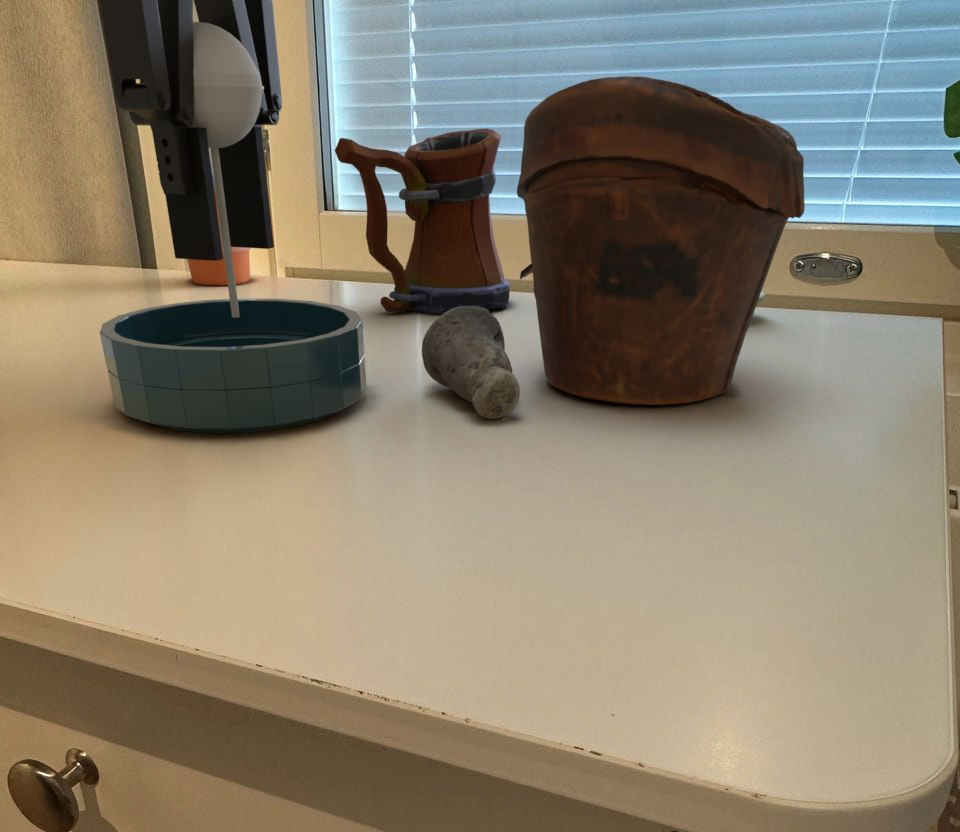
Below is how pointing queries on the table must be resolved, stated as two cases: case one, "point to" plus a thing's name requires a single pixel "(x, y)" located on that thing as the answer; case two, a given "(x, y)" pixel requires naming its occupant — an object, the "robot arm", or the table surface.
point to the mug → (437, 221)
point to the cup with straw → (220, 263)
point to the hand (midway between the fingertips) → (226, 251)
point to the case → (650, 234)
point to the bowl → (235, 364)
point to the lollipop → (224, 110)
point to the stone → (472, 360)
